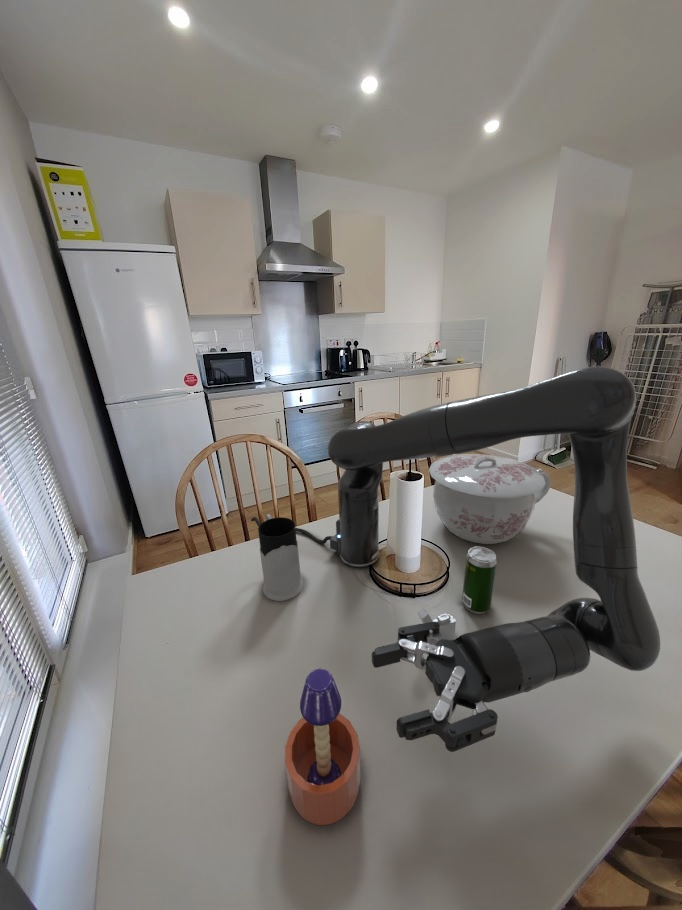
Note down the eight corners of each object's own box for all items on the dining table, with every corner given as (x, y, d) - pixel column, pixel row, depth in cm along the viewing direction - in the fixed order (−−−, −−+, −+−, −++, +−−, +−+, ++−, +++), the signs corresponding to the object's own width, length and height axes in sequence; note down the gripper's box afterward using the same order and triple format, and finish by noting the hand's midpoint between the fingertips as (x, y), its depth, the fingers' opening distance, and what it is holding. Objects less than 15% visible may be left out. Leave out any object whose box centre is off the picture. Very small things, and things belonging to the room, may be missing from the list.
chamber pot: (409, 538, 93) (412, 465, 86) (445, 496, 114) (450, 435, 107) (527, 576, 78) (542, 491, 71) (544, 520, 99) (557, 450, 92)
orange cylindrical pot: (274, 788, 44) (269, 757, 42) (320, 726, 50) (318, 696, 48) (330, 846, 39) (327, 814, 37) (373, 769, 45) (373, 738, 43)
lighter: (448, 632, 65) (451, 597, 62) (454, 639, 63) (458, 604, 60) (414, 645, 62) (416, 609, 60) (420, 653, 61) (422, 616, 58)
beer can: (478, 619, 67) (485, 567, 63) (455, 602, 71) (460, 552, 67) (496, 607, 70) (503, 556, 66) (473, 591, 74) (478, 542, 70)
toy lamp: (307, 756, 46) (297, 663, 41) (342, 752, 47) (338, 659, 41) (307, 803, 42) (296, 705, 36) (346, 797, 42) (342, 700, 36)
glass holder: (268, 606, 72) (259, 543, 67) (254, 566, 84) (246, 510, 79) (308, 592, 75) (304, 531, 70) (289, 556, 88) (284, 501, 82)
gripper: (474, 596, 50) (365, 620, 47) (553, 690, 37) (410, 733, 34) (469, 636, 53) (365, 662, 50) (541, 737, 40) (407, 782, 37)
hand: (384, 691), depth 42 cm, fingers open, 8 cm apart
